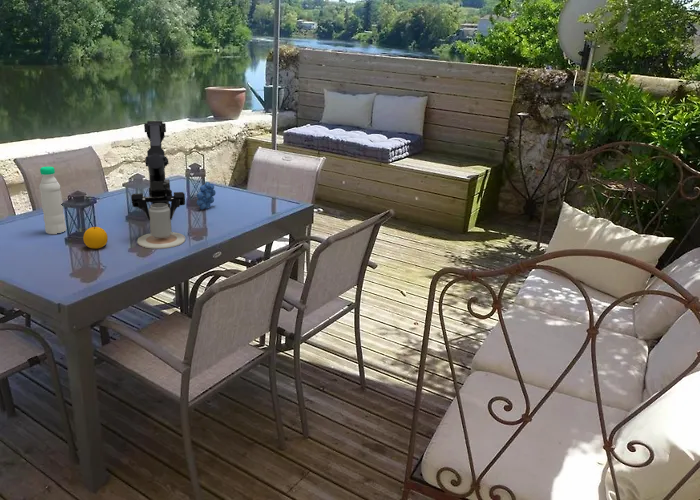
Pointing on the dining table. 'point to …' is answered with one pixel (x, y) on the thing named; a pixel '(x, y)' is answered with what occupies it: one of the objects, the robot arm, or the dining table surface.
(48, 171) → the milk bottle
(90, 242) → the orange
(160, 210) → the can
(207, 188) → the grapes
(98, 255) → the dining table surface
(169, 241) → the saucer
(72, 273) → the dining table surface
